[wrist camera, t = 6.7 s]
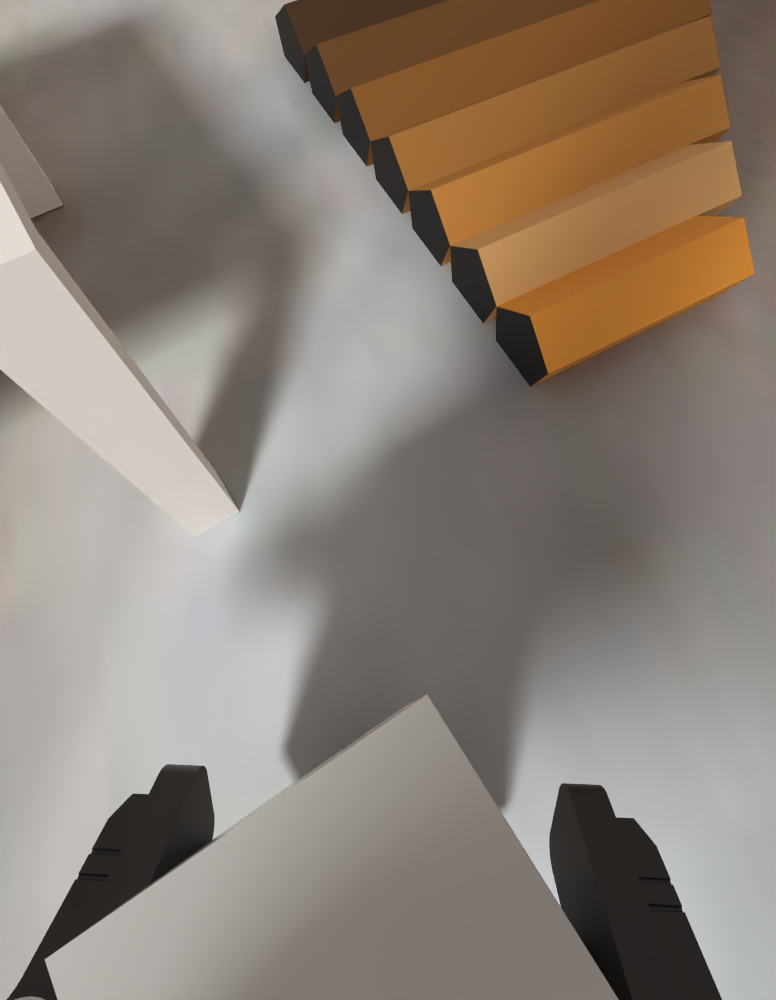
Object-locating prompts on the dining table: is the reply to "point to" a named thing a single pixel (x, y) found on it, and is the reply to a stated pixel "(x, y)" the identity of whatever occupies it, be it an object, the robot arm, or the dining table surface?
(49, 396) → the white four-legged frame
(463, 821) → the grey upright block
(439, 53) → the pan flute
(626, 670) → the dining table surface
